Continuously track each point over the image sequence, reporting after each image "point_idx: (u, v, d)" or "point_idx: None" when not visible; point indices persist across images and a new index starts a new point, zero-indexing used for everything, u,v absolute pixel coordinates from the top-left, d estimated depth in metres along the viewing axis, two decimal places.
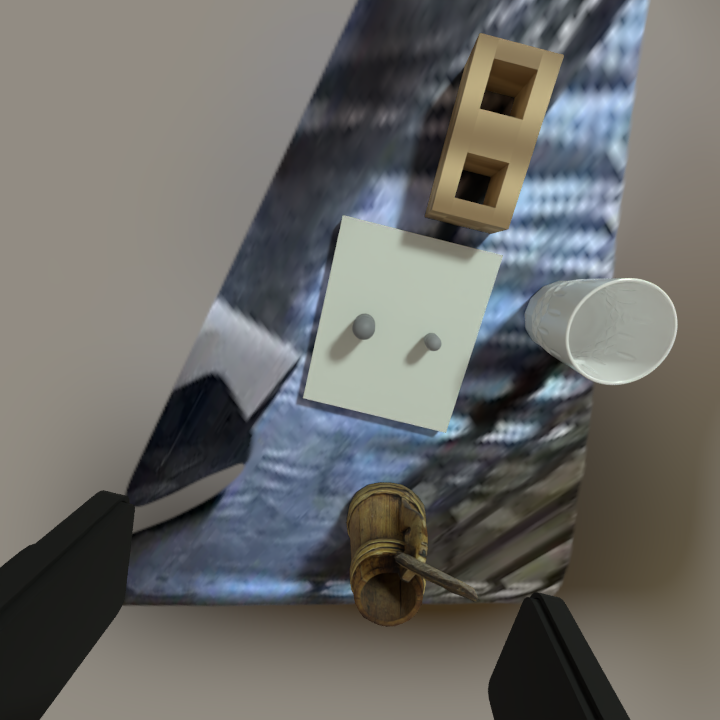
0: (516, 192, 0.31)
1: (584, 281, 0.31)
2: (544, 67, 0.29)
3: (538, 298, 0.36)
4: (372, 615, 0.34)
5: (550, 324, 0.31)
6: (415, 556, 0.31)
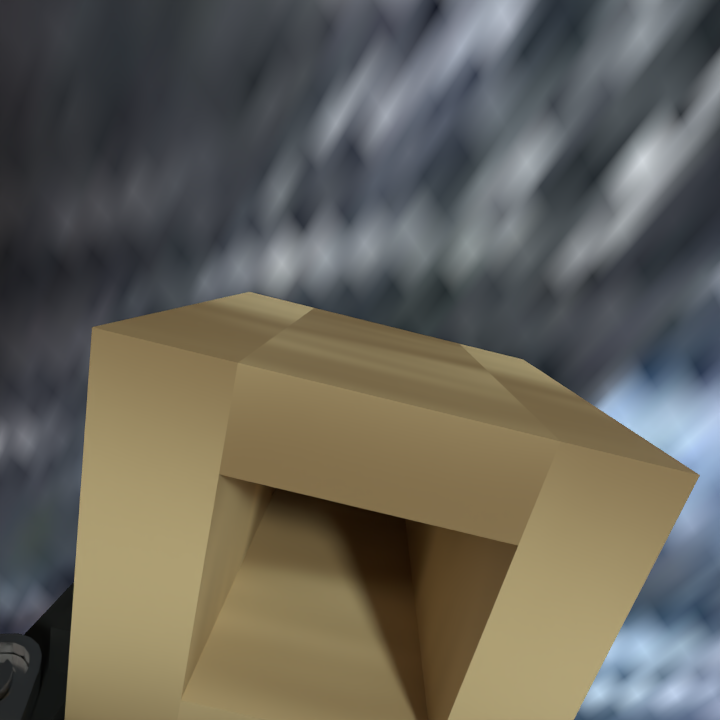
0: None
1: None
2: (560, 535, 0.04)
3: None
4: None
5: None
6: None
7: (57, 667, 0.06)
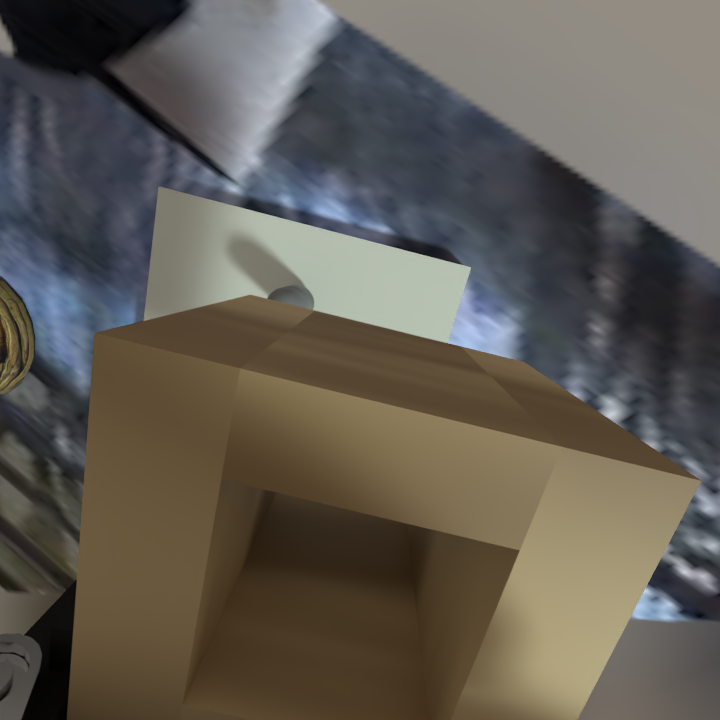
0: None
1: None
2: (562, 540, 0.04)
3: None
4: None
5: None
6: None
7: (57, 667, 0.06)
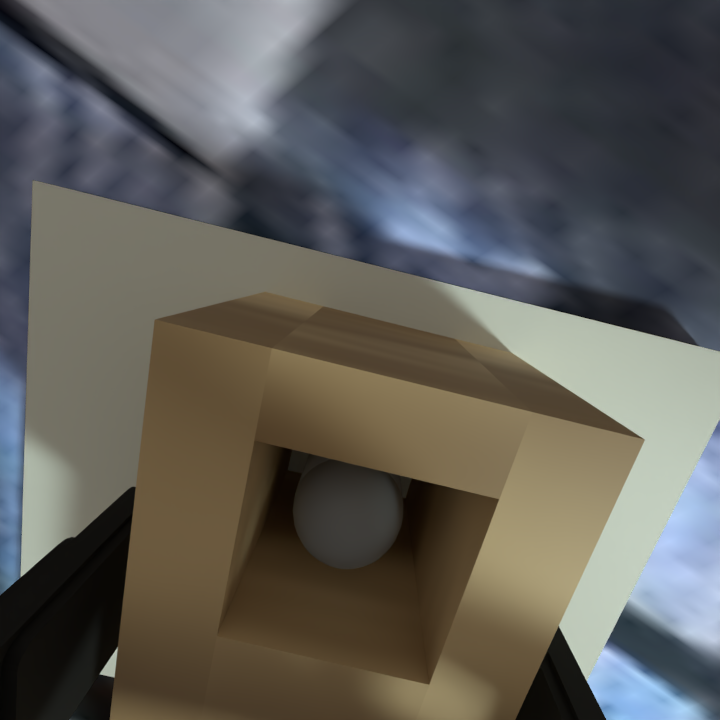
0: None
1: None
2: (533, 490, 0.05)
3: None
4: None
5: None
6: None
7: None
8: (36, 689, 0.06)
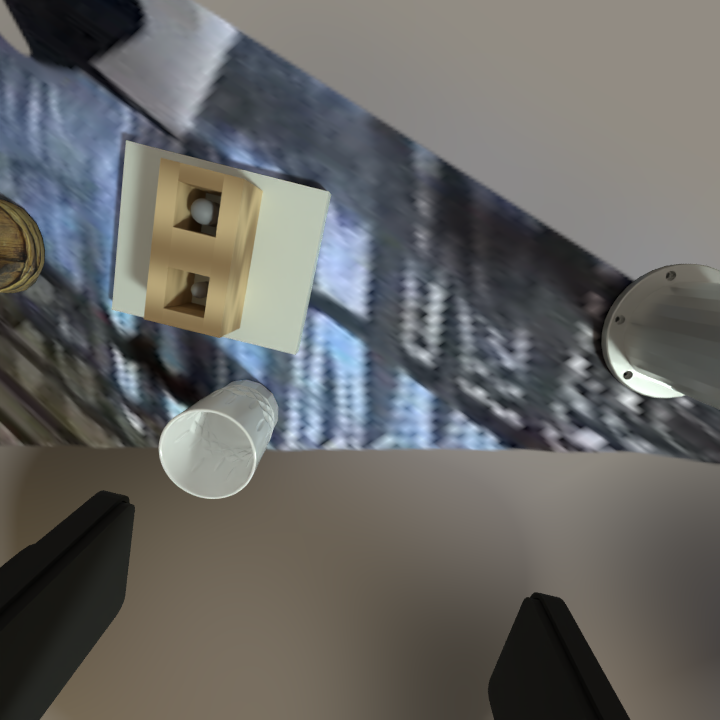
0: (221, 304, 0.32)
1: (263, 423, 0.34)
2: (227, 189, 0.29)
3: (257, 389, 0.38)
4: None
5: (219, 397, 0.33)
6: None
7: None
8: None
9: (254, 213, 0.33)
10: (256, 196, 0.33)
